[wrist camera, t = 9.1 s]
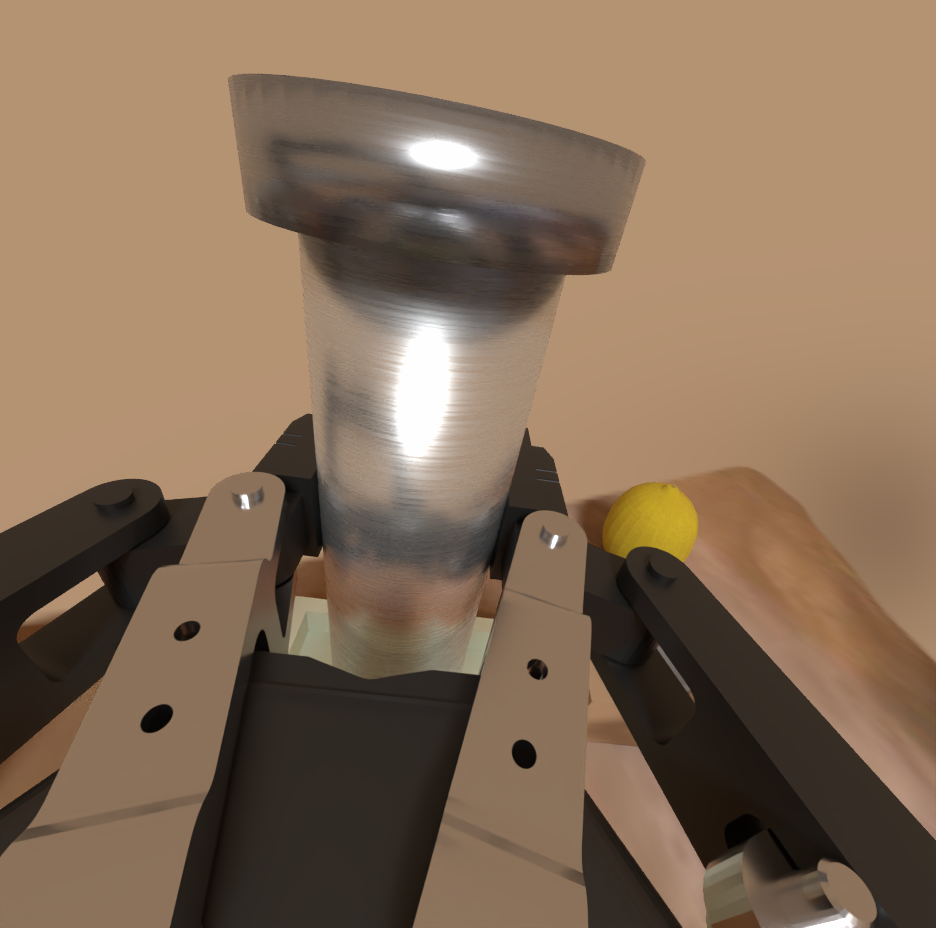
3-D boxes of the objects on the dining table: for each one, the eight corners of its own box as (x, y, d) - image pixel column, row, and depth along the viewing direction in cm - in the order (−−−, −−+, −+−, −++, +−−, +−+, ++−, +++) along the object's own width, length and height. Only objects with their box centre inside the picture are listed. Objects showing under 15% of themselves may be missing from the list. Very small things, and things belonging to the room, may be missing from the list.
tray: (161, 962, 13) (136, 953, 11) (300, 623, 23) (295, 596, 21) (530, 983, 14) (550, 977, 12) (510, 647, 23) (520, 622, 22)
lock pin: (286, 761, 11) (95, 32, 3) (341, 601, 15) (318, 120, 7) (473, 778, 11) (729, 155, 3) (475, 617, 16) (592, 172, 8)
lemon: (673, 610, 27) (736, 525, 23) (593, 594, 27) (639, 507, 23) (652, 550, 32) (701, 469, 27) (583, 536, 32) (620, 453, 27)
